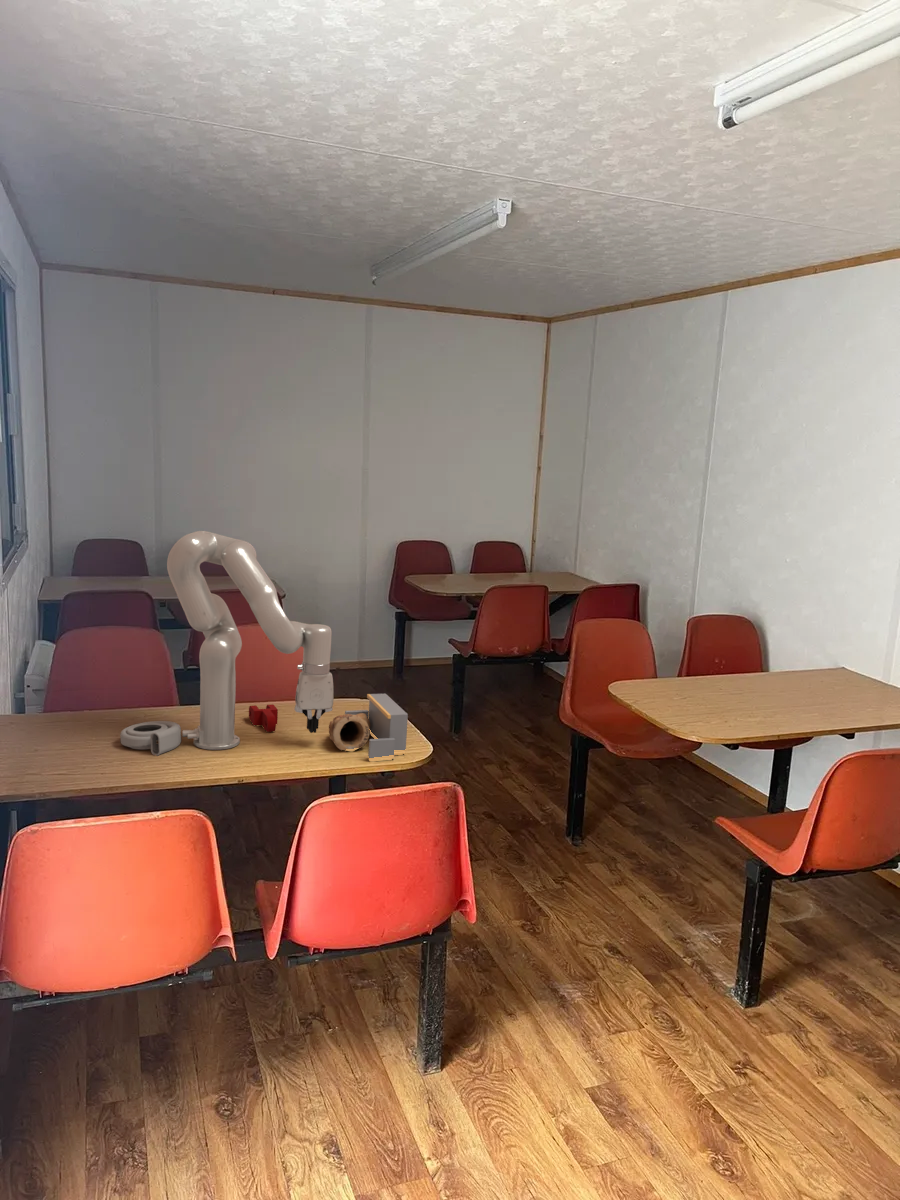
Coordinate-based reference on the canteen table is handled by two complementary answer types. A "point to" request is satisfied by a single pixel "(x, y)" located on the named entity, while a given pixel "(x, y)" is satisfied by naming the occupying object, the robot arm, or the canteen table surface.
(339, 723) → the clay pipe
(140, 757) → the canteen table surface
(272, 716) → the mechanical linkage
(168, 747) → the turbocharger housing
